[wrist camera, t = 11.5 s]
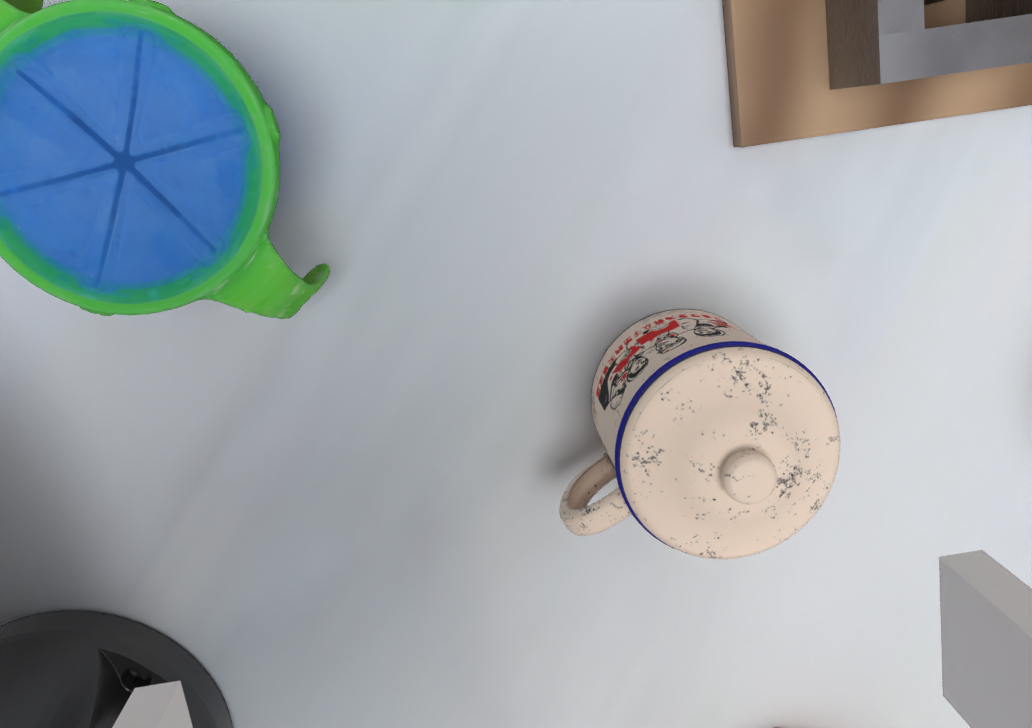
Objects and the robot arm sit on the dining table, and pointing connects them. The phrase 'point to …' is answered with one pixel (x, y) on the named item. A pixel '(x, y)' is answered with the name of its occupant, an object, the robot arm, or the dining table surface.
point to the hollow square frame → (921, 40)
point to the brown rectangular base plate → (820, 111)
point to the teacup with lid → (705, 439)
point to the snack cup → (137, 163)
